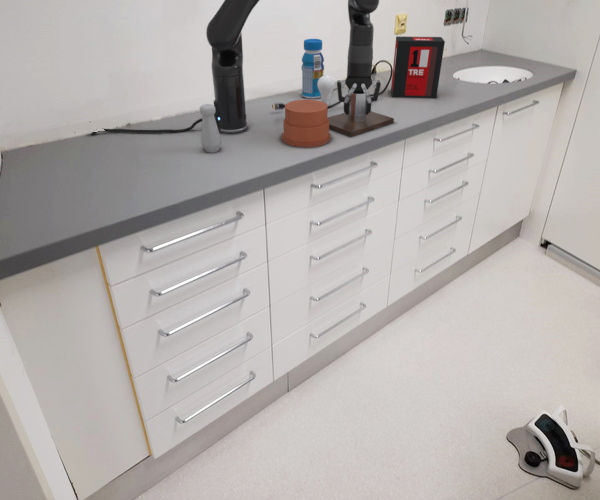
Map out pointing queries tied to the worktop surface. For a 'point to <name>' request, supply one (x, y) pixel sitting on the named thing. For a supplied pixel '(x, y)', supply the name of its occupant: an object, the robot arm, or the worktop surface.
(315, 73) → the beverage bottle
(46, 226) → the worktop surface
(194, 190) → the worktop surface
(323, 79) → the lightbulb
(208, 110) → the salt shaker
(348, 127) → the board
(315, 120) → the terracotta flower pot
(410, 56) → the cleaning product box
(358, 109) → the steel cup
